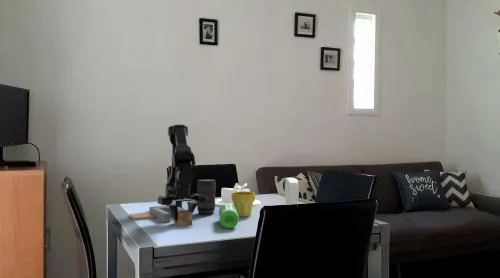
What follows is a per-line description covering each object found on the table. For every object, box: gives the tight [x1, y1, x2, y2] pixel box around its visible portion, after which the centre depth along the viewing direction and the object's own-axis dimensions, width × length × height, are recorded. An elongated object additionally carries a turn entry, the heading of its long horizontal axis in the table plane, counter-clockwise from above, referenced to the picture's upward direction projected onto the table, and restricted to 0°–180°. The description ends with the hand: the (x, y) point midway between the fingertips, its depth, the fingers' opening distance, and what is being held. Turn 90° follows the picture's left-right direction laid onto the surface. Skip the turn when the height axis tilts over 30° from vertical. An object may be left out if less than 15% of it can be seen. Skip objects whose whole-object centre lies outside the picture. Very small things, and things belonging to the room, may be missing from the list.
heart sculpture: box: [284, 177, 300, 206], centre depth 184 cm, size 16×5×18 cm, turn 2°
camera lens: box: [196, 179, 217, 216], centre depth 201 cm, size 8×8×15 cm
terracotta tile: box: [128, 211, 155, 221], centre depth 191 cm, size 8×9×1 cm
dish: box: [215, 182, 262, 208], centre depth 230 cm, size 25×25×11 cm
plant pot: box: [232, 191, 256, 217], centre depth 199 cm, size 10×10×10 cm
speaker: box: [218, 203, 240, 229], centre depth 179 cm, size 18×7×8 cm, turn 5°
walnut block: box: [173, 209, 193, 227], centre depth 178 cm, size 5×6×5 cm
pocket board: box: [148, 205, 186, 224], centre depth 191 cm, size 11×18×4 cm, turn 31°
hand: (182, 221), depth 179 cm, fingers closed on walnut block, 5 cm apart
